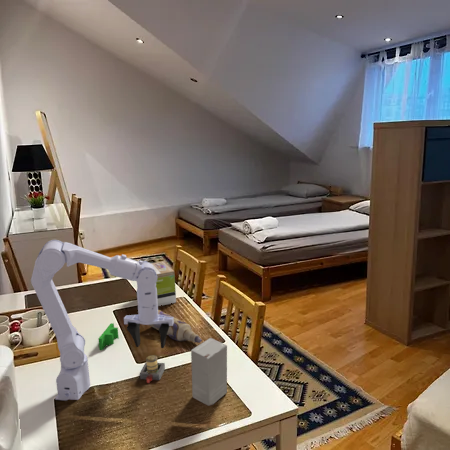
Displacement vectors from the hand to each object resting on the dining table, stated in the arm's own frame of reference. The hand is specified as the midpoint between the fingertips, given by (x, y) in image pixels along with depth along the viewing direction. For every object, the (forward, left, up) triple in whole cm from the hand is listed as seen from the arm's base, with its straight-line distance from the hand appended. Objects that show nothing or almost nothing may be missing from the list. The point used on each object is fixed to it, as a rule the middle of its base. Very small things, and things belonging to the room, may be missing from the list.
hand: (150, 345), depth 125 cm
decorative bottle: (+24, 0, -10) cm, 26 cm away
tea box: (+56, +13, -10) cm, 59 cm away
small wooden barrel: (0, 0, -9) cm, 9 cm away
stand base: (0, 0, -10) cm, 10 cm away
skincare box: (-9, -19, -10) cm, 23 cm away
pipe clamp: (+18, +21, -10) cm, 29 cm away
